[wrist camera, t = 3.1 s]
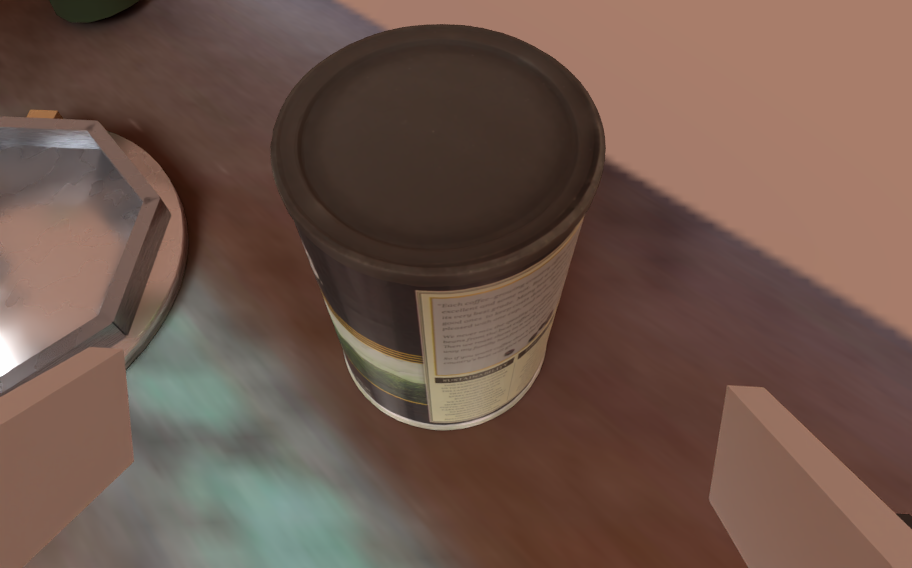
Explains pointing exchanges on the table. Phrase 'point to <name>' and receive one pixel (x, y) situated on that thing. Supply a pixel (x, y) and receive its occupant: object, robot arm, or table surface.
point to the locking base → (81, 244)
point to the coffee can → (440, 210)
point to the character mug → (89, 9)
